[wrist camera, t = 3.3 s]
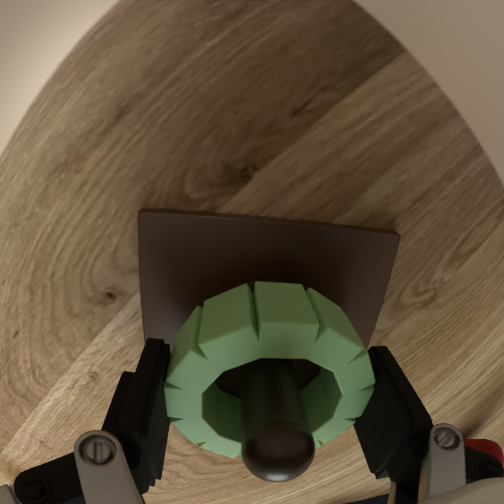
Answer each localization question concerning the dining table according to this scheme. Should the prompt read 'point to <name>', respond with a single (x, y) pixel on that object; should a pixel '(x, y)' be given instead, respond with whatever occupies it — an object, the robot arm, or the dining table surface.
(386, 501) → the tray
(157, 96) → the dining table surface
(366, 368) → the ring
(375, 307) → the stand
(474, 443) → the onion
